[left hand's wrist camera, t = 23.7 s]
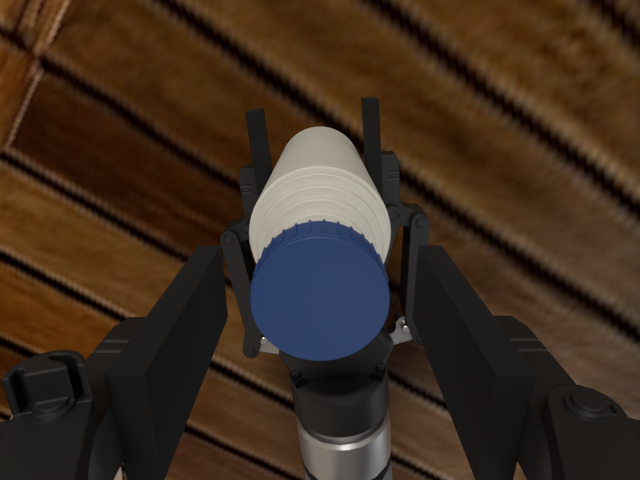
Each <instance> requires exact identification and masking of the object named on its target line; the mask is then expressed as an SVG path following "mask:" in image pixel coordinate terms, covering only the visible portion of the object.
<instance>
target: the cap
mask: <svg viewBox="0 0 640 480" xmlns="http://www.w3.org/2000/svg"><path fill="white" fill-rule="evenodd" d="M253 275H254V276H253V279H252V282H251V285H250V288H251V292H250V306H251V311H252V315H253V318H254V320H255V323H256V325H257V327H258V328H259V330H260V331H261V333H262V334H263V335H264V337H265V338H266V339H267V340H268V341H269V342H270V343H271V344H273V345H274V346H275V347H277V348H278V349H280V350H281V351H283V352H285V353H287V354H289V355H292V356H294V357H297V358H301V359H305V360H312V361H328V360H335V359H339V358H343V357H346V356H348V355H351V354H353V353H355V352H357V351H359V350H361V349H362V348H363V347H365V346H366V345H367V344H369V343H370V342H371V341H372V340H373V339H374V338H375V337H376V335H377V334H378V333H379V331H380V330H381V328H382V327H383V325H384V323H385V321H386V318H387V315H388V312H389V306H390V291H389V286H388V282H389V279H388V276H387V274H386V271H385V268H384V265H383V262H382V259H381V256H380V254H379V253H378V254H377V252H376V251H375V248H374V245H373V243H370V242H369V241H368V240H367V239H366V238H365V236H364V234H363V233H362V234H360V233H358V232H357V231H355V230H354V229H353V227H352V226H350V227H347V226H345V225H342V224H340V223H339V222H338V221H337V223H335V222H330V221H325V219H323V221H311V220H309V221H308V222H305V223H301V224H297V223H295V226H292V227H290V228H288V229H287V230H285V229H283V230H282V233H280V234H279V235H278V236H277V237H275V238H274V237H273V238H272V239H271V243H270V244H269V245H268V246H267V248H266V247H264V249H263V252H262V255H261V258H260V259H258V261H257V264H256V267H255V270H254V273H253Z"/></svg>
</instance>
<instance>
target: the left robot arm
mask: <svg viewBox="0 0 640 480" xmlns="http://www.w3.org/2000/svg"><path fill="white" fill-rule="evenodd" d="M227 318H228V314H227V303H226V292H225V280H224V269H223V258H222V247H221V246H198V247H197V248H196V250H195V251H194V253H193V254H192V255H191V257H190V258H189V259H188V261H187V262H186V263H185V265H184V266H183V267H182V269H181V270H180V272H179V273H178V274H177V276H176V277H175V278H174V280H173V281H172V282H171V284H170V285H169V287H168V288H167V289H166V291H165V292H164V293H163V295H162V296H161V297H160V299H159V300H158V302H157V303H156V304H155V306H154V307H153V308H152V310H151V311H150V312H149V314H148V315H147V316H146V317H129V318H127V319H126V320H124V321H123V322H121V323H120V324H118V325H116V326H115V327H113V328H112V329H111V331H110V332H109V333H108V334H107V335H106V337H105V338H104V339H103V340H102V343H100V344H99V345H98V346H97V347H96V348H95V350H94V353H91V354H90V356H89V357H88V358H87V359H86V360H84V357H83V356H82V355H81V354H80V353H78V352H76V351H70V350H58V351H50V352H46V353H42V354H39V355H36V356H33V357H31V358H29V359H26V360H24V361H22V362H20V363H19V364H17V365H16V366H14V367H13V368H11V369H10V370H9V371H8V372H7V373H6V374H5V375H4V377H3V378H2V379H1V381H2V384H3V387H4V390H5V393H6V396H7V400H8V403H9V406H10V409H11V412H12V415H13V417H12V420H8V421H4V422H0V480H114V478H115V476H116V474H117V472H118V471H119V469H120V467H121V465H122V463H123V464H124V468H125V473H126V477H127V480H164V479H165V477H166V474H167V472H168V469H169V467H170V464H171V462H172V459H173V456H174V454H175V451H176V449H177V446H178V444H179V441H180V438H181V436H182V433H183V431H184V428H185V426H186V423H187V420H188V418H189V415H190V413H191V410H192V408H193V405H194V402H195V400H196V397H197V395H198V392H199V390H200V387H201V385H202V382H203V379H204V377H205V374H206V372H207V369H208V367H209V364H210V361H211V359H212V356H213V354H214V351H215V349H216V346H217V343H218V341H219V338H220V336H221V333H222V331H223V328H224V325H225V323H226V320H227ZM412 318H413V320H414V323H415V326H416V328H417V331H418V333H419V336H420V338H421V341H422V343H423V346H424V349H425V351H426V354H427V356H428V359H429V361H430V364H431V367H432V369H433V372H434V374H435V377H436V379H437V382H438V385H439V387H440V390H441V392H442V395H443V397H444V400H445V403H446V405H447V408H448V410H449V413H450V415H451V418H452V420H453V423H454V426H455V428H456V431H457V433H458V436H459V438H460V441H461V444H462V446H463V449H464V451H465V454H466V456H467V459H468V462H469V464H470V467H471V469H472V472H473V474H474V477H475V480H513V477H514V473H515V468H516V464H517V461H518V463H519V465H520V466H521V468H522V470H523V472H524V474H525V476H526V478H527V480H640V420H635V419H632V418H628V417H627V415H626V414H625V412H624V411H623V409H622V408H621V407H620V406H619V405H618V404H617V403H616V402H614V401H613V400H612V399H610V398H609V397H608V396H606V395H604V394H602V393H600V392H598V391H596V390H594V389H591V388H587V387H584V386H581V385H576V383H575V382H574V381H573V380H572V379H571V377H570V376H569V375H568V374H567V373H566V372H565V370H564V369H563V368H562V367H561V366H560V364H559V363H558V362H557V361H556V360H555V358H554V357H553V356H552V355H551V354H550V353H549V352H547V351H546V348H545V347H544V345H543V344H542V343H541V342H540V341H538V338H537V337H536V336H535V335H534V334H533V332H532V331H531V330H530V329H529V328H528V326H526V325H524V324H523V323H521V322H520V321H518V320H517V319H515V318H513V317H512V316H493V315H492V314H491V312H490V311H489V310H488V308H487V307H486V306H485V304H484V303H483V302H482V300H481V299H480V297H479V296H478V295H477V293H476V292H475V291H474V289H473V288H472V287H471V285H470V284H469V282H468V281H467V280H466V278H465V277H464V276H463V274H462V273H461V272H460V270H459V269H458V268H457V266H456V265H455V263H454V262H453V261H452V259H451V258H450V257H449V255H448V254H447V253H446V251H445V250H444V248H443V247H442V246H418V258H417V269H416V280H415V291H414V303H413V314H412Z"/></svg>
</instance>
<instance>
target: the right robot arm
mask: <svg viewBox="0 0 640 480" xmlns="http://www.w3.org/2000/svg"><path fill="white" fill-rule="evenodd" d="M361 103H362V120H363V137H364V153H365V168H366V170H367V172H368V174H369V176H370V178H371V179H372V181H373V183H374V185H375V187H376V189H377V191H378V193H379V195H380V197H381V199H382V201H383V203H384V204H385V207H386V209H387V212H388V215H389V219H390V225H391V240H390V246H389V250H388V253H387V256H386V259H385V262H384V264H383V265H384V268H385V269H386V265H387V262H388V259H389V256H390V253H391V249H392V246H393V243H394V240H395V236H396V233H397V230H398V227H399V225H402V226H404V227H403V244H402V262H401V279H400V305H401V308H402V309H399V310H397V312H396V314H395V315H394V323H393V325H392V326H391V327H389V328H387V327H386V326H385V325H383V327H382V328H381V330H380V331H379V333H378V334H377V335H376V337H375V338H374V339H373V340H372V341H371V342H370V343H369V344H367V345H366V346H365V347H363V348H362V349H361V350H359V351H357V352H355V353H353V354H351V355H348V356H346V357H343V358H339V359H335V360H328V361H312V360H305V359H301V358H297V357H294V356H292V355H289V354H287V353H285V352H283V351H281V350H280V349H278V348H277V347H275V346H274V345H273V344H271V343H270V342H269V341H268V340H267V339H266V338H265V337H264V335H263V334H262V333H261V331H260V330H259V328H258V327H257V325H256V323H255V320H254V318H253V315H252V311H251V306H250V292H251V288H250V285H251V282H252V279H253V276H254V275H253V273H254V270H255V267H254V263H253V259H252V255H251V251H250V247H249V243H248V240H247V239H249V225H250V220H251V215H252V212H253V209H254V207H255V205H256V203H257V201H258V199H259V197H260V195H261V193H262V191H263V189H264V187H265V186H266V184H267V182H268V180H269V178H270V176H271V174H272V165H271V157H270V150H269V143H268V136H267V129H266V121H265V114H264V108H259V109H251V110H249V111H247V112H245V115H246V122H247V128H248V135H249V141H250V148H251V154H252V161H253V164H248V165H244V166H243V167H242V168H241V169H240V173H239V183H240V189H241V195H242V201H243V207H244V217H242V218H240V219H238V220H233V221H231V222H230V223H229V224H228V225H227V227H226V228H225V230H224V231H223V233H222V235H221V237H220V243H221V247H222V250H223V254H224V257H225V261H226V264H227V268H228V271H229V275H230V279H231V282H232V286H233V289H234V293H235V296H236V300H237V303H238V307H239V310H240V314H241V317H242V321H243V324H244V328H245V336H244V344H243V354H244V355H245V356H246V357H248V358H255V357H257V356H258V354H259V351H260V352H267V353H274V354H279V355H280V358H281V360H282V361H283V362H284V363H285V364H286V366H287V368H288V370H289V375H290V382H291V388H292V395H293V402H294V408H295V413H296V422H297V429H298V435H299V441H300V447H301V453H302V460H303V465H304V471H305V480H393V477H392V466H391V431H390V414H389V407H388V405H389V392H388V372H387V360H388V357H389V355H390V353H391V352H392V349H393V345H396V344H399V343H402V342H405V341H408V340H412V339H413V341H414V343H416V344H418V345H422V344H423V343H422V341H421V338H420V336H419V333H418V331H417V328H416V326H415V323H414V320H413V318H412V314H413V303H414V291H415V280H416V269H417V258H418V246H428V243H429V230H430V219H429V217H428V216H427V215H426V213H425V212H424V211H423V210H422V208H421V207H420V206H419V205H417V204H408V203H404V202H402V201H400V182H399V161H398V159H397V157H396V154H395V153H394V152H393V151H382V152H381V141H380V119H379V99H378V98H375V97H367V98H361Z"/></svg>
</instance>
